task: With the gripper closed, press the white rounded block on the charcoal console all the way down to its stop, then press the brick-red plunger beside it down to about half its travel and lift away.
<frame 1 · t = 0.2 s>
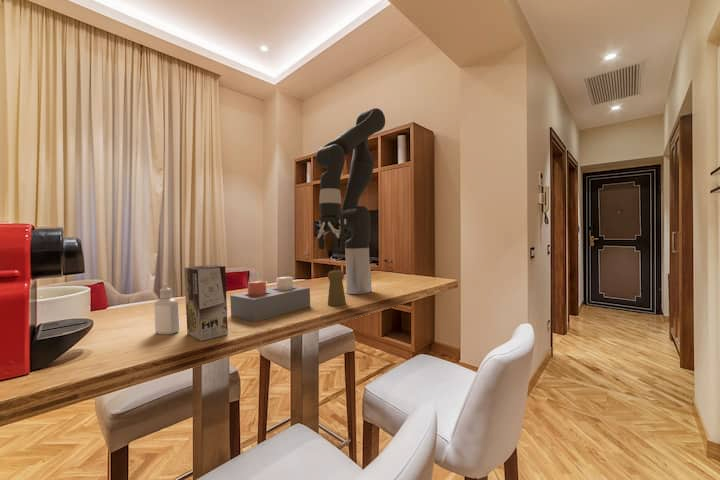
hand: (330, 249, 106), 18 cm above the table, tool pointing down, fingers open, 8 cm apart
console: (272, 311, 93), on the table
coffee box: (207, 334, 73), on the table
cork: (336, 304, 100), on the table
red plunger: (257, 292, 89), point 7 cm above the table, slide at 0.0 cm
white rounded block: (284, 287, 97), point 6 cm above the table, slide at 0.0 cm
eye dropper bottle: (167, 333, 75), on the table
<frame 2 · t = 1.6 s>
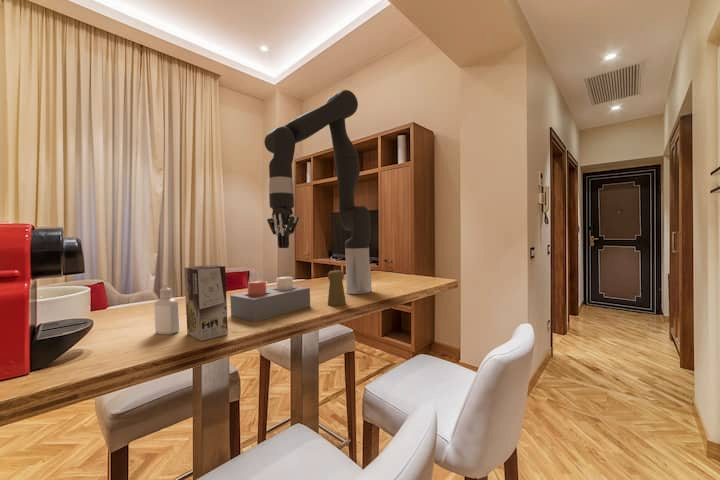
hand: (283, 247, 96), 19 cm above the table, tool pointing down, fingers closed
nothing on the table moved.
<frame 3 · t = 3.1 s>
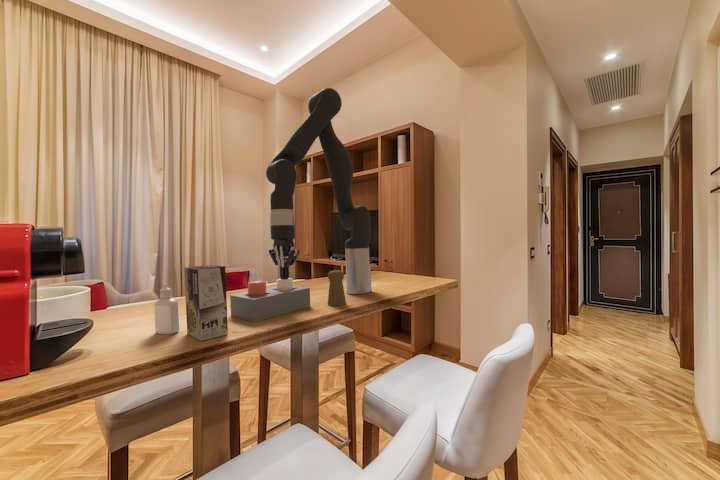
hand: (284, 279, 97), 9 cm above the table, tool pointing down, fingers closed
white rounded block: (285, 288, 97), point 6 cm above the table, slide at 0.4 cm, touching gripper
everything else where it was.
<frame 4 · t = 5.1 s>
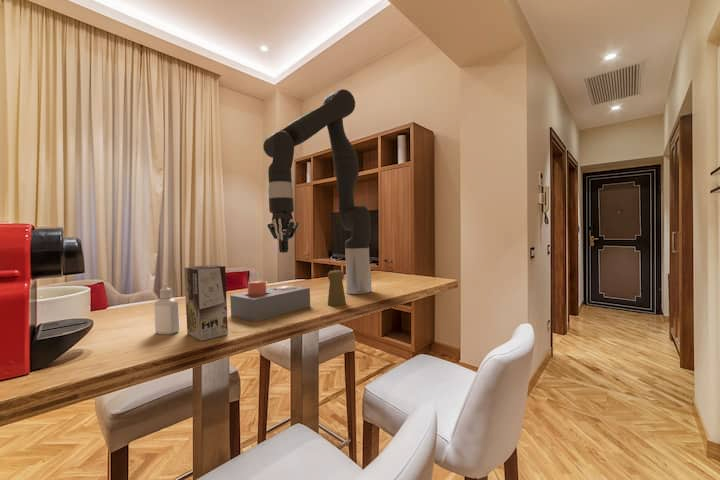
hand: (283, 252, 97), 18 cm above the table, tool pointing down, fingers closed
white rounded block: (285, 296, 97), point 3 cm above the table, slide at 3.0 cm
everything else where it was.
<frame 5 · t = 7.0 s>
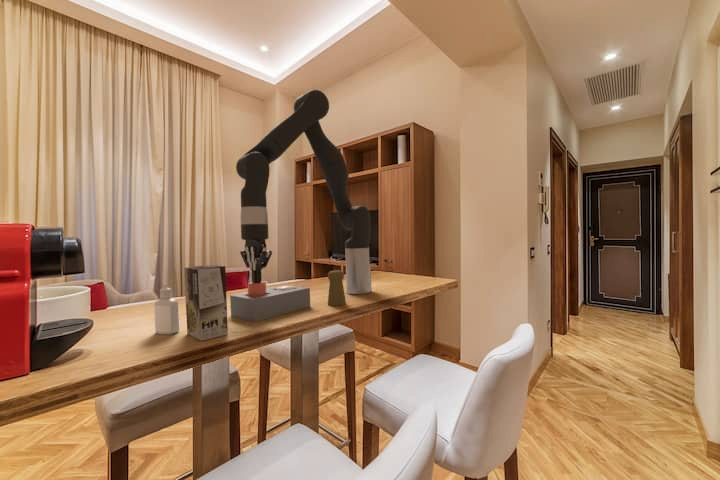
hand: (256, 282, 89), 9 cm above the table, tool pointing down, fingers closed
red plunger: (257, 293, 89), point 6 cm above the table, slide at 0.1 cm, touching gripper
everything else where it was.
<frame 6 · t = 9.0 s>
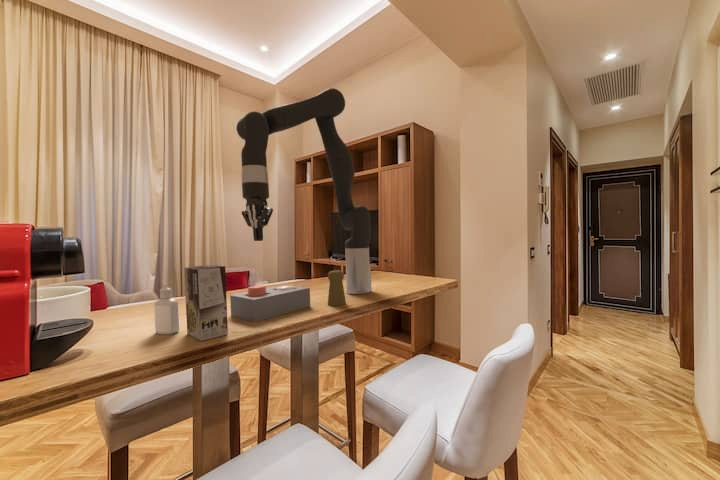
hand: (258, 240, 91), 22 cm above the table, tool pointing down, fingers closed
red plunger: (257, 297, 89), point 5 cm above the table, slide at 1.5 cm
everything else where it was.
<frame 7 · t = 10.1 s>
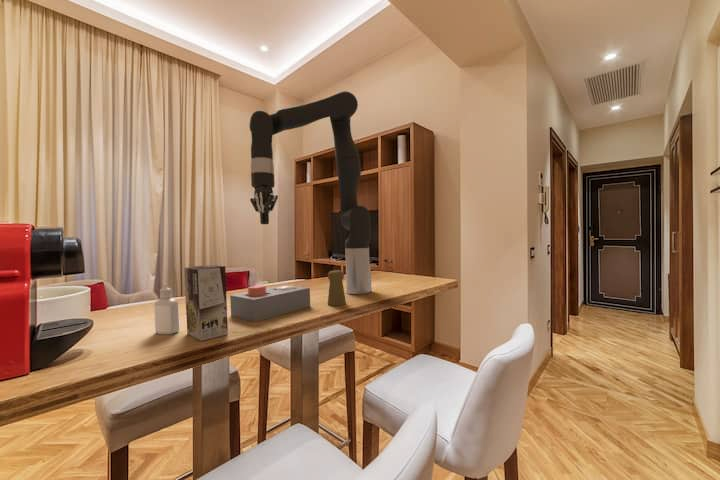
hand: (264, 224, 104), 27 cm above the table, tool pointing down, fingers closed
nothing on the table moved.
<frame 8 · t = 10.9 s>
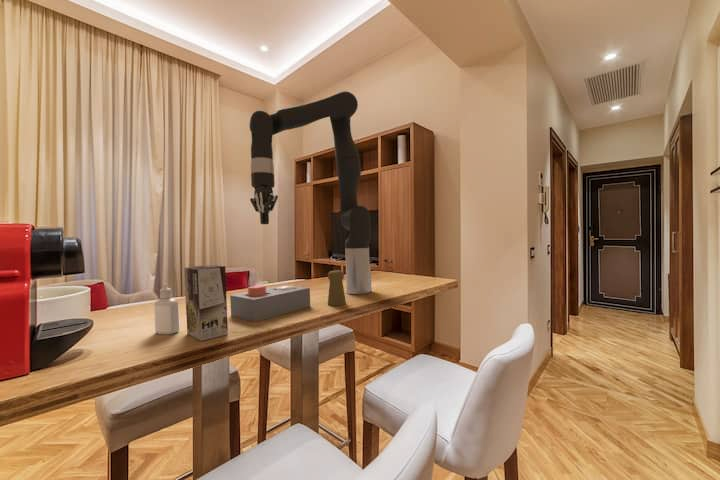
hand: (264, 224, 104), 27 cm above the table, tool pointing down, fingers closed
nothing on the table moved.
at the end: white rounded block slide at 3.0 cm; red plunger slide at 1.5 cm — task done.
